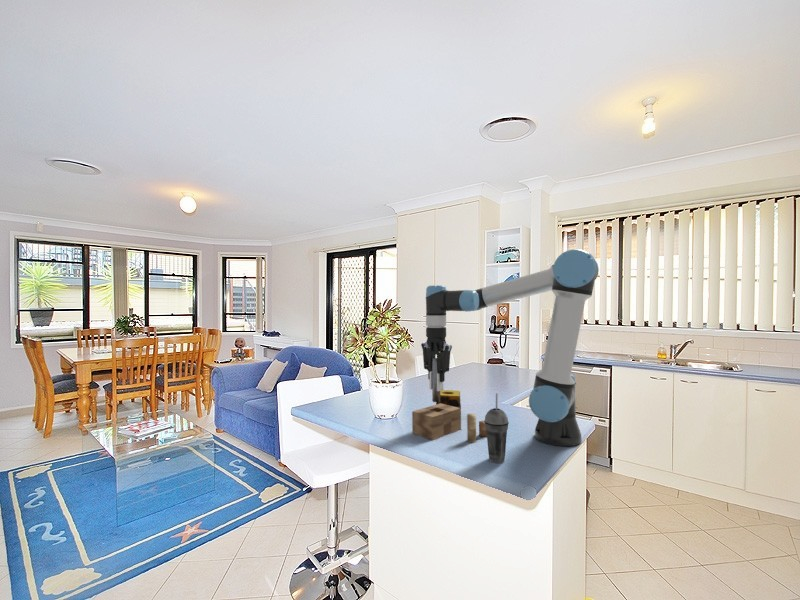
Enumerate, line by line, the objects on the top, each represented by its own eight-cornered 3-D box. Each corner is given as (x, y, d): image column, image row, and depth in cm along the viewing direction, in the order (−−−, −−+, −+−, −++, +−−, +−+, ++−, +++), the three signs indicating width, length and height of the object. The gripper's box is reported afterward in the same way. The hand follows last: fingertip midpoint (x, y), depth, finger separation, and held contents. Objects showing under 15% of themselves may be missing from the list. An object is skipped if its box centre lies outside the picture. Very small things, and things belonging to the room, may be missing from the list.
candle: (460, 420, 157) (460, 396, 157) (435, 419, 159) (435, 395, 159) (461, 413, 167) (461, 390, 167) (438, 412, 169) (437, 389, 169)
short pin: (489, 435, 139) (489, 421, 139) (484, 438, 137) (484, 423, 137) (482, 433, 141) (482, 420, 141) (477, 435, 139) (477, 422, 139)
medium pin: (477, 440, 134) (477, 414, 134) (472, 443, 132) (472, 416, 132) (470, 438, 136) (470, 413, 136) (465, 440, 134) (465, 414, 134)
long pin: (442, 401, 145) (441, 358, 145) (436, 402, 142) (436, 359, 142) (435, 399, 147) (435, 357, 147) (430, 401, 145) (430, 358, 145)
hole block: (460, 429, 146) (460, 408, 146) (432, 440, 135) (432, 417, 135) (440, 423, 154) (440, 403, 154) (412, 433, 143) (412, 411, 143)
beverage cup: (482, 462, 116) (482, 396, 116) (486, 453, 123) (485, 390, 123) (508, 466, 113) (507, 398, 113) (510, 457, 120) (509, 392, 120)
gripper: (459, 327, 141) (459, 391, 141) (426, 325, 153) (427, 384, 153) (446, 328, 136) (446, 395, 136) (413, 326, 148) (414, 387, 148)
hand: (436, 389), depth 145 cm, fingers closed on long pin, 3 cm apart
